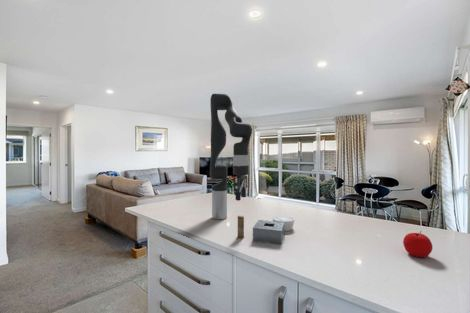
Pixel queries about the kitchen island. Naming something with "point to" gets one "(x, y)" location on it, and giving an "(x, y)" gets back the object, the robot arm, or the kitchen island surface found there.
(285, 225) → the ramekin
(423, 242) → the fruit
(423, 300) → the kitchen island surface
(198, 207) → the kitchen island surface
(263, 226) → the hole block
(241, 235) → the walnut peg
